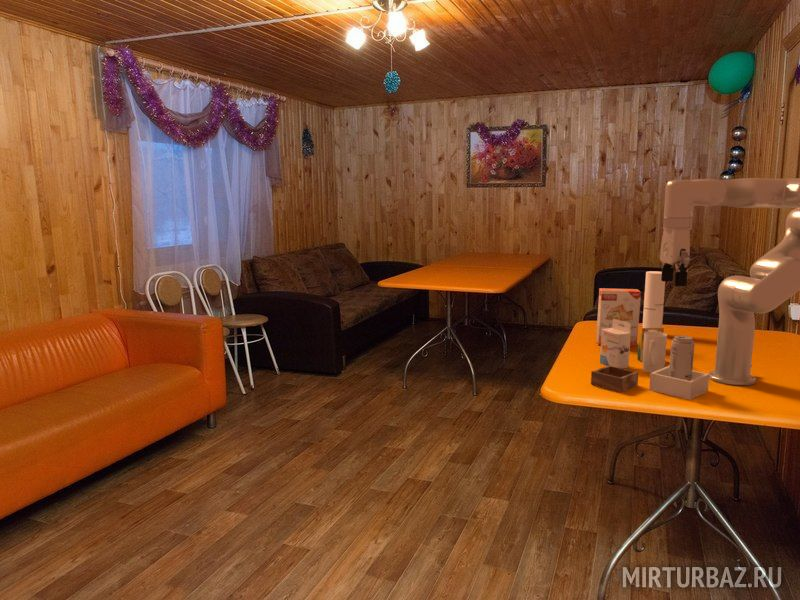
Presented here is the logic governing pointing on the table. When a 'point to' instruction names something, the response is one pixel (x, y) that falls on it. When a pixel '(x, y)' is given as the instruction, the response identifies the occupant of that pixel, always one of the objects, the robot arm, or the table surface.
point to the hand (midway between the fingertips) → (673, 283)
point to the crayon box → (641, 341)
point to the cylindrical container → (653, 301)
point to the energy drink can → (681, 357)
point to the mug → (654, 351)
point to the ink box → (616, 344)
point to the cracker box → (618, 310)
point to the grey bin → (679, 384)
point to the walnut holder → (614, 378)
